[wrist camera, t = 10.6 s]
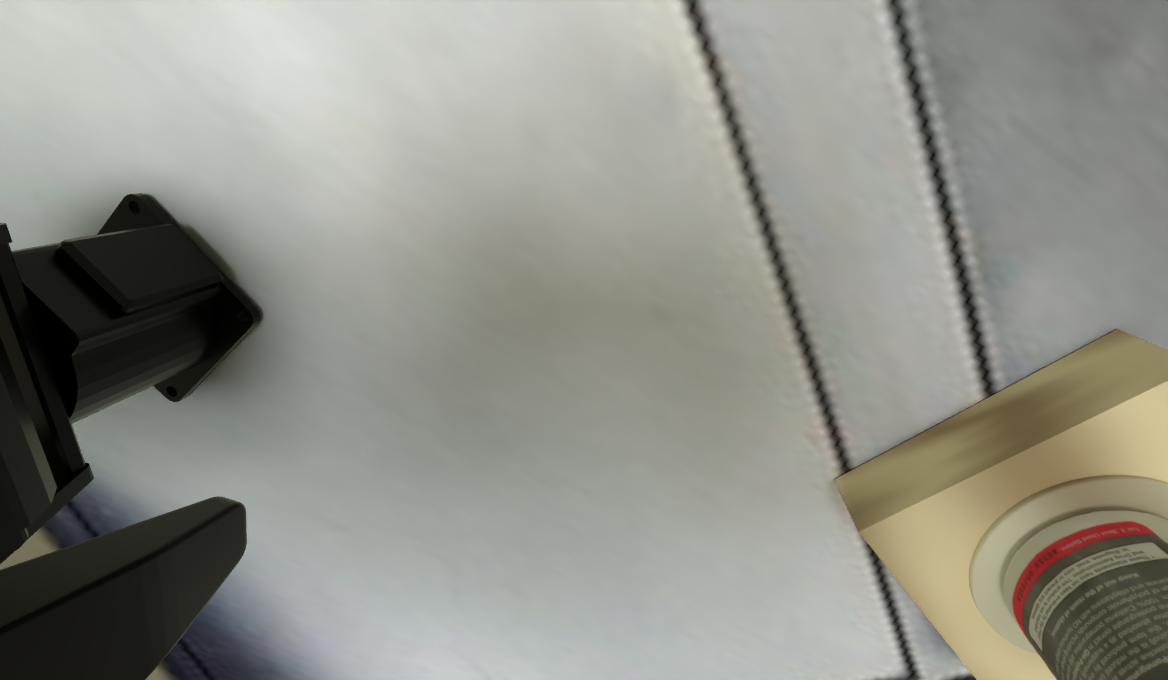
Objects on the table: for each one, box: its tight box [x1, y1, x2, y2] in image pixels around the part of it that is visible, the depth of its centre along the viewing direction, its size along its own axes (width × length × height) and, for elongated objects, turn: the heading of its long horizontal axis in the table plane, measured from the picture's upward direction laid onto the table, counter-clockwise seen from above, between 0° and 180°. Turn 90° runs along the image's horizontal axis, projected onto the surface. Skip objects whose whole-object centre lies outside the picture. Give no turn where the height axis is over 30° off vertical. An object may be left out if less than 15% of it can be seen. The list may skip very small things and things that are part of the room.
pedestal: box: [834, 329, 1168, 680], centre depth 18 cm, size 10×10×3 cm
